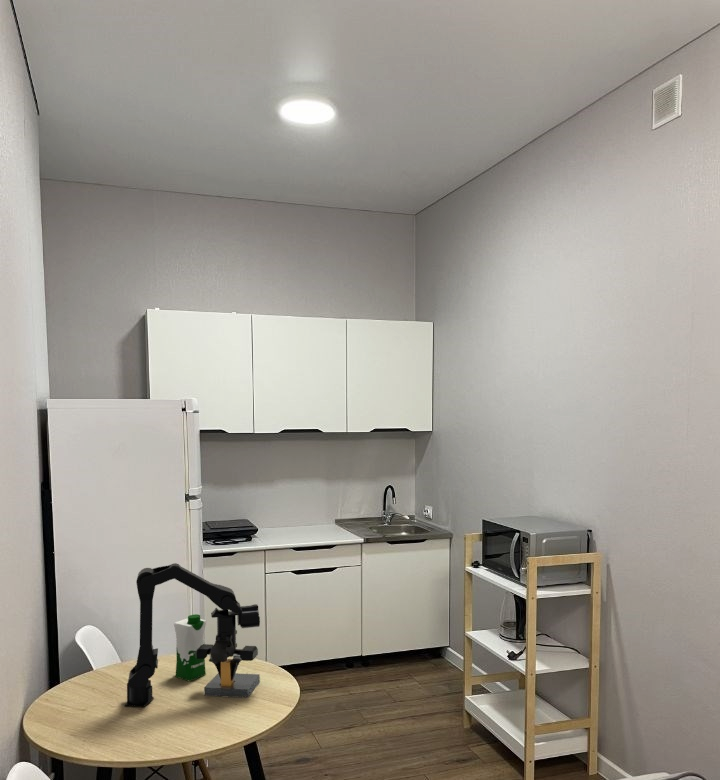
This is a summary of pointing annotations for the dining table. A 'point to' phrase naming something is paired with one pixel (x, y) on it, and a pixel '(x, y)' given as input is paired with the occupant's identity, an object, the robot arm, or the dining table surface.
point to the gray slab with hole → (233, 686)
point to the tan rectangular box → (226, 673)
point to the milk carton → (189, 647)
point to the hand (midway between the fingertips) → (227, 679)
